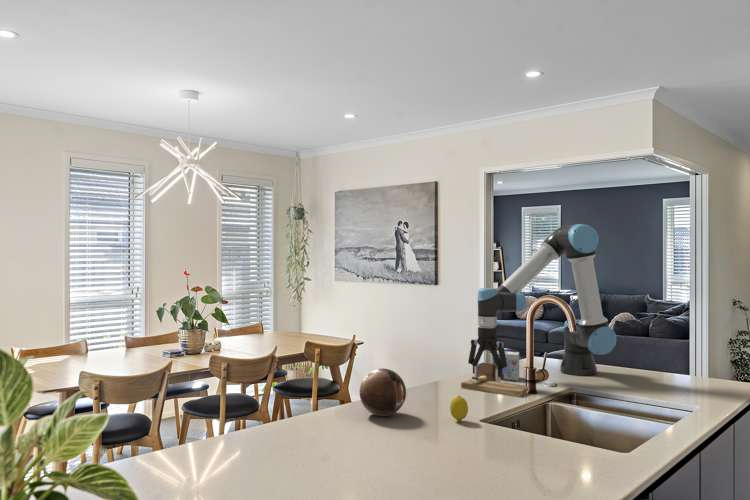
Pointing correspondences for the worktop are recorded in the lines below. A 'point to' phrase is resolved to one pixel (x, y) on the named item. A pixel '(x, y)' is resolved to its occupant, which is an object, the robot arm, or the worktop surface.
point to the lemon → (459, 408)
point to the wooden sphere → (382, 392)
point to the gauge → (485, 373)
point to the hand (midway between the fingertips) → (487, 383)
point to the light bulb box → (510, 366)
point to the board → (496, 387)
